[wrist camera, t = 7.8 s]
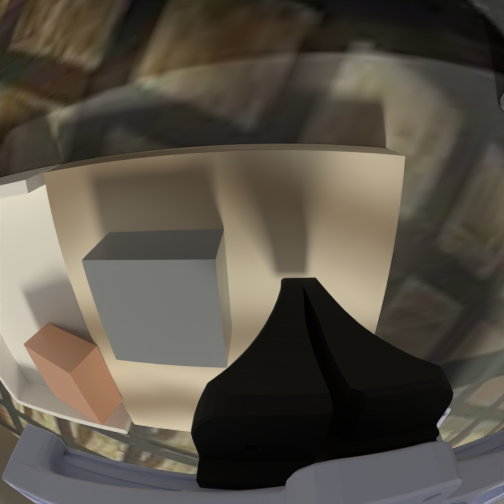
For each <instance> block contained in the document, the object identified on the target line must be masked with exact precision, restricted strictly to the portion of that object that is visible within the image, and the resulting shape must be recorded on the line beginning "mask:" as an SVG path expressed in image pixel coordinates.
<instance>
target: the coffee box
mask: <svg viewBox="0 0 504 504" xmlns="http://www.w3.org/2000/svg"><path fill="white" fill-rule="evenodd" d="M500 106H501V107H502V109H503V111H504V93H503V95H502V97H501V98H500Z"/></svg>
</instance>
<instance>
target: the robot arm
mask: <svg viewBox="0 0 504 504" xmlns="http://www.w3.org/2000/svg"><path fill="white" fill-rule="evenodd" d="M452 399H453V391H452V388H451V386H450V384H449V382H448V380H447V377H446V376H445V374H444V372H443V370H442V369H441V367H440V366H438V365H435V364H432V363H430V362H427V361H424V360H422V359H419V358H416V357H414V356H412V355H410V354H408V353H406V352H404V351H401V350H400V349H398V348H396V347H394V346H392V345H390V344H389V343H387V342H386V341H384V340H382V339H381V338H379V337H378V336H376V335H375V334H373V333H372V332H370V331H369V330H368V329H366V328H365V327H364V326H362V325H361V324H360V323H359V322H357V321H356V320H355V319H354V318H353V317H352V316H351V315H350V314H348V313H347V312H346V311H345V310H344V309H343V308H342V307H341V306H340V305H339V303H338V302H337V301H336V300H335V299H334V298H333V297H332V296H331V295H330V294H329V292H328V291H327V290H326V289H325V288H324V287H323V285H322V284H321V283H320V282H319V281H318V280H317V278H316V277H308V278H283V279H282V280H281V288H280V292H279V295H278V298H277V301H276V303H275V306H274V308H273V310H272V312H271V314H270V316H269V318H268V320H267V321H266V323H265V325H264V326H263V328H262V330H261V331H260V332H259V334H258V335H257V337H256V338H255V339H254V341H253V342H252V343H251V344H250V346H249V347H248V348H247V349H246V350H245V351H244V352H243V353H242V354H241V355H240V356H239V357H238V358H237V359H236V360H235V361H234V362H233V363H232V364H231V365H230V366H229V367H228V368H227V369H225V370H224V371H223V372H221V373H220V374H219V375H217V376H216V377H215V378H213V379H212V380H211V381H209V382H208V383H207V385H206V386H205V388H204V390H203V392H202V394H201V397H200V399H199V401H198V404H197V407H196V410H195V413H194V417H193V422H192V427H191V436H192V439H193V442H194V444H195V447H196V449H197V452H198V455H199V463H198V470H197V475H195V474H187V473H179V472H171V471H165V470H159V469H153V468H147V467H142V466H137V465H132V464H127V463H123V462H118V461H114V460H110V459H106V458H102V457H99V456H95V455H91V454H88V453H85V452H81V451H78V450H75V449H72V448H69V447H66V445H65V444H64V442H63V441H62V440H61V439H60V438H59V437H58V436H56V435H55V434H53V433H51V432H49V431H46V430H44V429H41V428H38V427H36V426H33V425H30V424H27V425H26V427H25V429H24V431H23V433H22V435H21V437H20V439H19V441H18V443H17V445H16V447H15V449H14V451H13V453H12V456H11V458H10V460H9V462H8V464H7V466H6V469H5V471H4V473H3V476H2V479H3V480H4V481H5V482H7V483H8V484H9V485H11V486H12V487H13V488H15V489H16V490H17V491H19V492H20V493H21V494H23V495H24V496H26V497H27V498H29V499H30V500H32V501H33V502H35V503H36V504H492V503H494V502H496V501H498V500H499V499H501V498H503V497H504V429H502V430H500V431H498V432H495V433H493V434H491V435H488V436H486V437H483V438H481V439H478V440H475V441H473V442H470V443H467V444H464V445H461V446H459V447H456V448H453V449H452V447H451V445H450V444H448V443H447V442H445V441H443V440H442V437H441V435H440V432H439V429H438V427H439V426H440V424H441V423H442V422H443V420H444V419H445V417H446V416H447V415H448V413H449V412H450V410H451V407H450V403H451V401H452Z"/></svg>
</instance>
